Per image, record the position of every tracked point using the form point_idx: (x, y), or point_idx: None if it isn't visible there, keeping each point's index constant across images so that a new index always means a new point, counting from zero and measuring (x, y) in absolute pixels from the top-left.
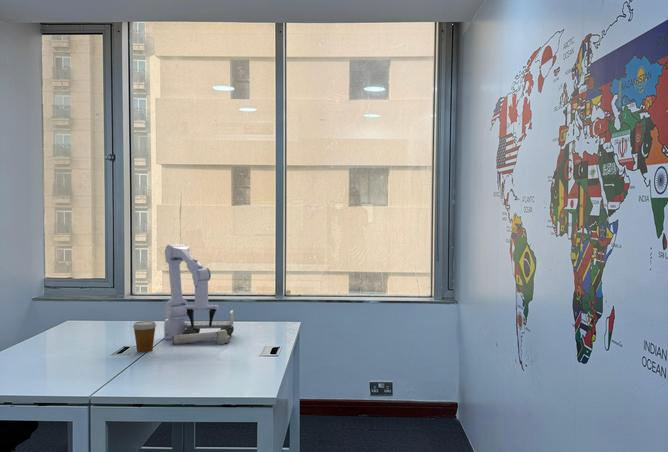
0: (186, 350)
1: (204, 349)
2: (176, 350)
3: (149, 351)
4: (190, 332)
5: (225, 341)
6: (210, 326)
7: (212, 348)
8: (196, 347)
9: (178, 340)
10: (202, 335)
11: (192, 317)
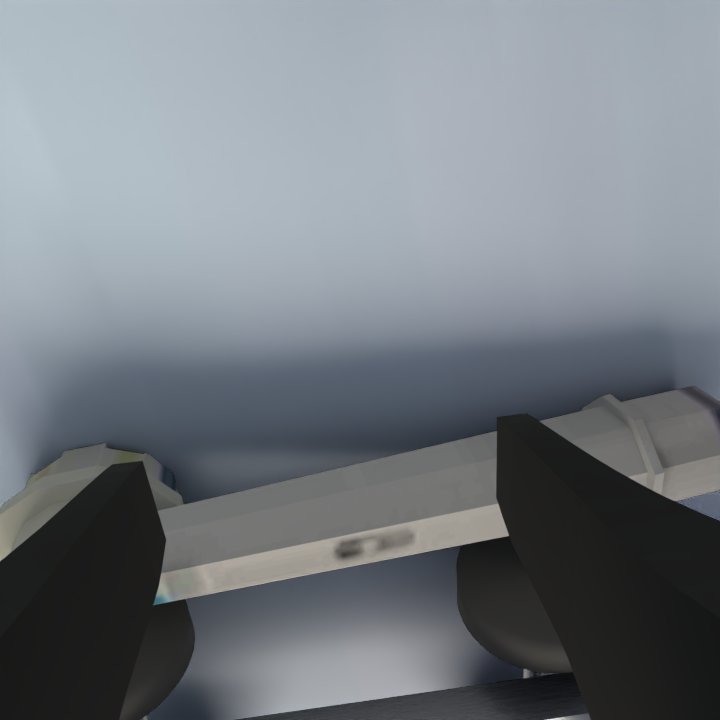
0: (472, 82)
1: (225, 152)
2: (613, 79)
3: None
4: (535, 598)
5: (44, 475)
6: (112, 464)
7: (130, 216)
8: (370, 265)
9: (641, 411)
10: (345, 499)
11: (604, 558)
